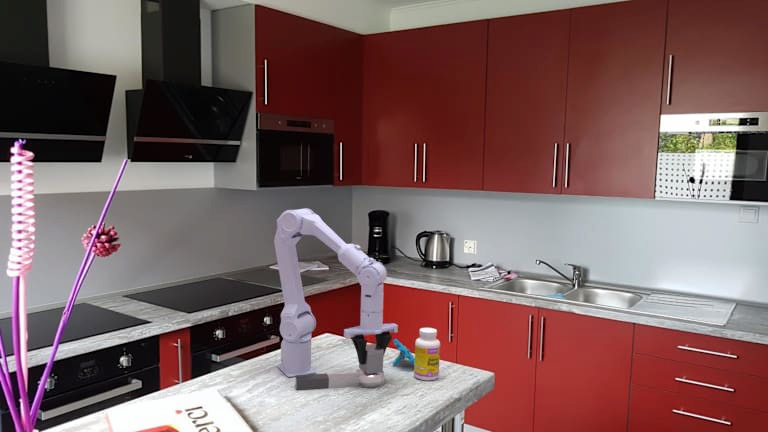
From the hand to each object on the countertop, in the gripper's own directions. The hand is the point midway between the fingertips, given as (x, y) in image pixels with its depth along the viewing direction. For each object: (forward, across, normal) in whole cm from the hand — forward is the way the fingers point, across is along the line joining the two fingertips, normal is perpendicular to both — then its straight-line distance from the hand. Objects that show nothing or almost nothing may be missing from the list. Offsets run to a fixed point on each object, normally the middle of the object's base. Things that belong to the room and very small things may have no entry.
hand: (370, 362), depth 150 cm
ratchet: (+6, -8, +2) cm, 10 cm away
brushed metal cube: (+2, 0, 0) cm, 2 cm away
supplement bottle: (+6, +16, -2) cm, 17 cm away
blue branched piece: (+6, +16, +8) cm, 19 cm away
